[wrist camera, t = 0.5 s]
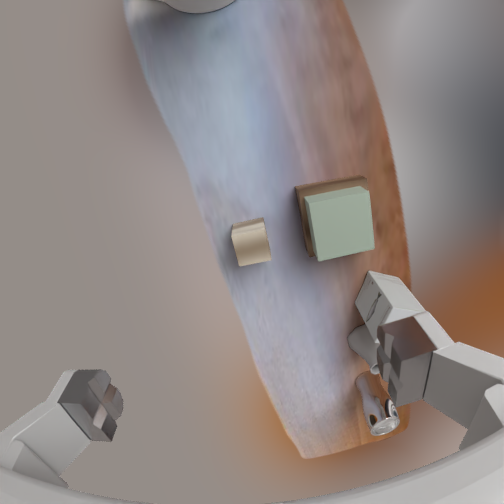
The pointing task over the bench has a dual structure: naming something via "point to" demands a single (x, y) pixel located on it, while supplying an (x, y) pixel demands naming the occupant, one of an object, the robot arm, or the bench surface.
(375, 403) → the beer glass
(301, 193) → the tower base slab
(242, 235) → the birch block
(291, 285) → the bench surface
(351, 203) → the tower top block
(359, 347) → the flask
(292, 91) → the bench surface
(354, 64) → the bench surface
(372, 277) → the supplement box
